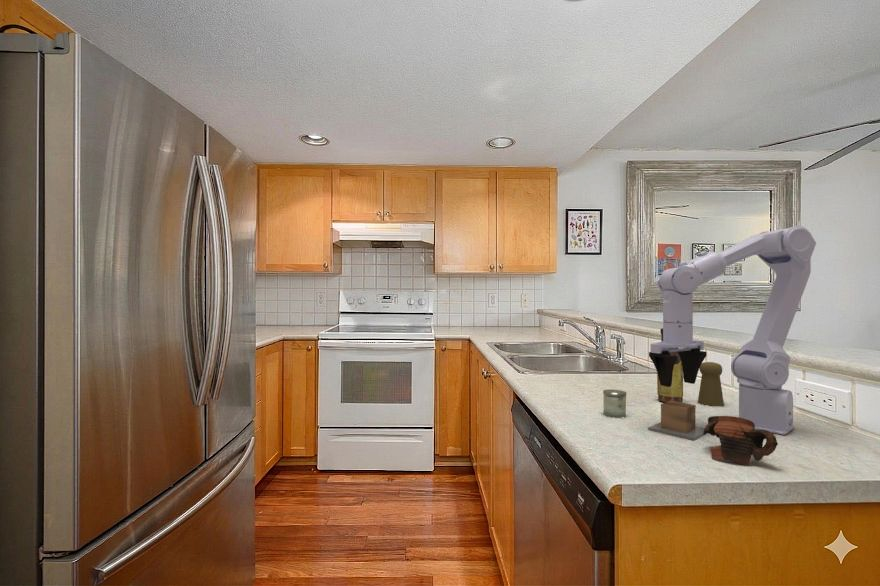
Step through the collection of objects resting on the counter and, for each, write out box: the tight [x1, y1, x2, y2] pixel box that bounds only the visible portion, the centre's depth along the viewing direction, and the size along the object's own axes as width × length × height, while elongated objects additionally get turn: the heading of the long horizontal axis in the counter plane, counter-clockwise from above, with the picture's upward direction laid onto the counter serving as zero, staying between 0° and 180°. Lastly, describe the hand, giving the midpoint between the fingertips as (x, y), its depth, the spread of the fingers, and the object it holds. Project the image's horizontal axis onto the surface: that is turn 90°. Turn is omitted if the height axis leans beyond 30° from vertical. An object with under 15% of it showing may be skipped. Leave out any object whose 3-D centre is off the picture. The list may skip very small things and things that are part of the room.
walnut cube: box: [660, 401, 697, 433], centre depth 94 cm, size 5×5×5 cm
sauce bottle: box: [656, 327, 684, 403], centre depth 119 cm, size 6×6×20 cm
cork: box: [697, 361, 725, 407], centre depth 117 cm, size 6×6×11 cm
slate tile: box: [647, 421, 705, 441], centre depth 93 cm, size 9×9×1 cm
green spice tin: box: [602, 388, 627, 419], centre depth 106 cm, size 5×5×6 cm
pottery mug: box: [703, 415, 779, 467], centre depth 78 cm, size 12×10×8 cm
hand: (677, 384), depth 96 cm, fingers open, 7 cm apart
